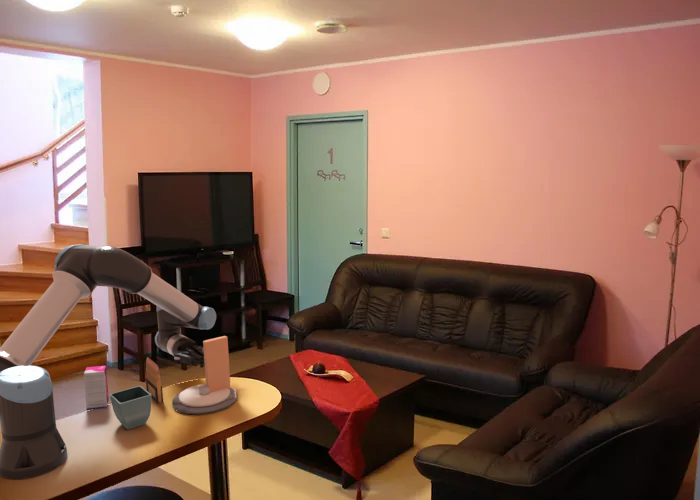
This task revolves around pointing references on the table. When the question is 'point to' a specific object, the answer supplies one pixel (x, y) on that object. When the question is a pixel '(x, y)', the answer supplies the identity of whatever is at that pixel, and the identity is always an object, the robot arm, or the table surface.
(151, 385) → the ammunition clip
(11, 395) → the robot arm
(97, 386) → the supplement box
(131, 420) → the flower pot
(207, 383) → the dial
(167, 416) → the table surface
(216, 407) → the base
